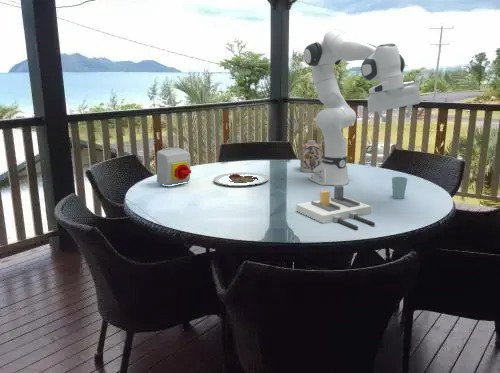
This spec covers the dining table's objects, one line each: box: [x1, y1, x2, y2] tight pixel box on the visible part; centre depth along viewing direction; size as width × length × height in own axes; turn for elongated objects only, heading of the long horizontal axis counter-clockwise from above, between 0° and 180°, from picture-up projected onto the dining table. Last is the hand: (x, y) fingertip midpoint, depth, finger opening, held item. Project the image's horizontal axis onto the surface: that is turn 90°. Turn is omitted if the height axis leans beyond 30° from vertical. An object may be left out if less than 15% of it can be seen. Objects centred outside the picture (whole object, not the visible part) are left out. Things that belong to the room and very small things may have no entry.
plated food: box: [213, 172, 270, 187], centre depth 228 cm, size 30×30×3 cm
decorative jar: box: [300, 140, 323, 173], centre depth 250 cm, size 12×12×18 cm
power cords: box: [332, 212, 376, 230], centre depth 158 cm, size 12×10×2 cm
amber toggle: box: [319, 190, 331, 207], centre depth 169 cm, size 2×3×6 cm, turn 118°
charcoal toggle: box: [333, 185, 344, 201], centre depth 176 cm, size 2×3×6 cm, turn 118°
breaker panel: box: [295, 196, 372, 224], centre depth 171 cm, size 18×24×4 cm
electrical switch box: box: [156, 147, 192, 185], centre depth 221 cm, size 14×15×20 cm
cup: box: [391, 176, 408, 200], centre depth 190 cm, size 7×7×9 cm
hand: (396, 119), depth 169 cm, fingers open, 8 cm apart
